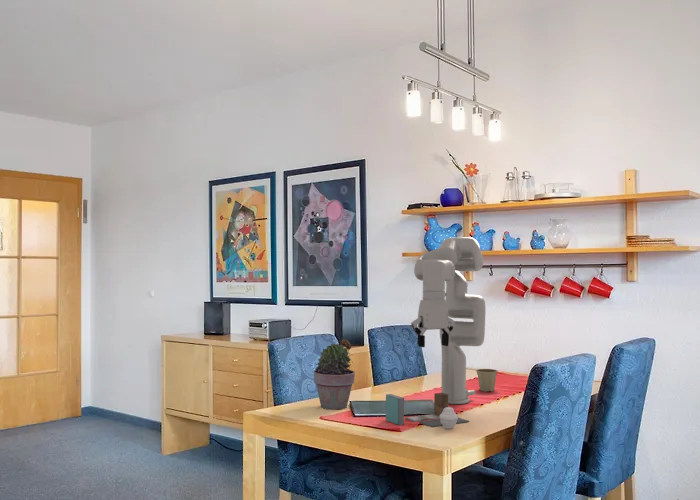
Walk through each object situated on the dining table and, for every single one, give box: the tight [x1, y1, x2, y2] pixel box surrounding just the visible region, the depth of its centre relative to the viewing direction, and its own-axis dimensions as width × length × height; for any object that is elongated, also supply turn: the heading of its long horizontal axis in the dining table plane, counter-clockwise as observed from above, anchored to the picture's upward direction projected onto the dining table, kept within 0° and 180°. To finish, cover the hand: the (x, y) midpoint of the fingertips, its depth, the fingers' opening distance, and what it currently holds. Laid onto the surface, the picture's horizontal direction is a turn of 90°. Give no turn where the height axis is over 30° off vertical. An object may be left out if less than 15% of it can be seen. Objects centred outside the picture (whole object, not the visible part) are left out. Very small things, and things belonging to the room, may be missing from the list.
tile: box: [385, 393, 405, 426], centre depth 235 cm, size 2×8×9 cm, turn 30°
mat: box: [418, 417, 470, 428], centre depth 236 cm, size 16×7×1 cm, turn 121°
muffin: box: [439, 406, 459, 430], centre depth 228 cm, size 6×6×7 cm
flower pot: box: [475, 368, 499, 392], centre depth 297 cm, size 9×9×9 cm
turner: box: [405, 392, 449, 423], centre depth 242 cm, size 16×4×8 cm, turn 121°
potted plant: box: [313, 339, 356, 411], centre depth 258 cm, size 18×20×25 cm
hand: (433, 346), depth 235 cm, fingers open, 9 cm apart
